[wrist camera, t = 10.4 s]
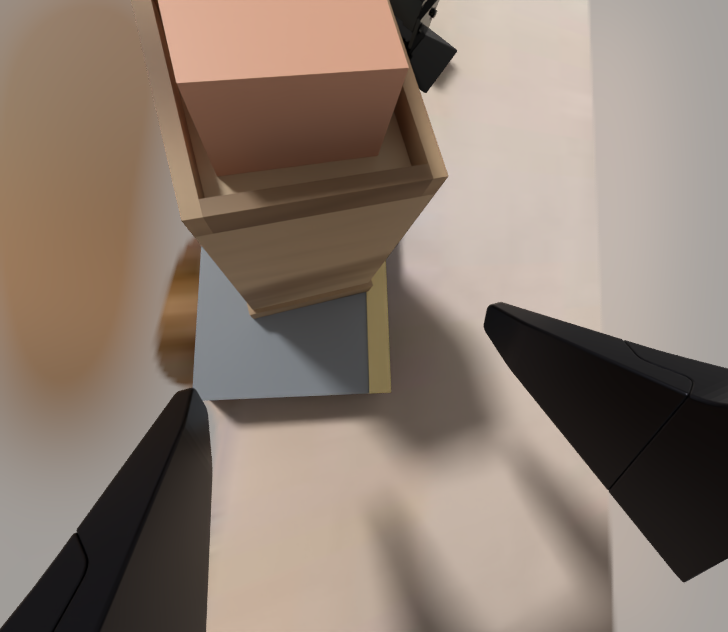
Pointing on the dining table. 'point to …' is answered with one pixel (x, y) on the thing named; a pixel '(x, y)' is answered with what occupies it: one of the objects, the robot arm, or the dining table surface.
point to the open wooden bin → (295, 197)
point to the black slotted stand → (422, 40)
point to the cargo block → (285, 78)
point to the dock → (289, 344)
